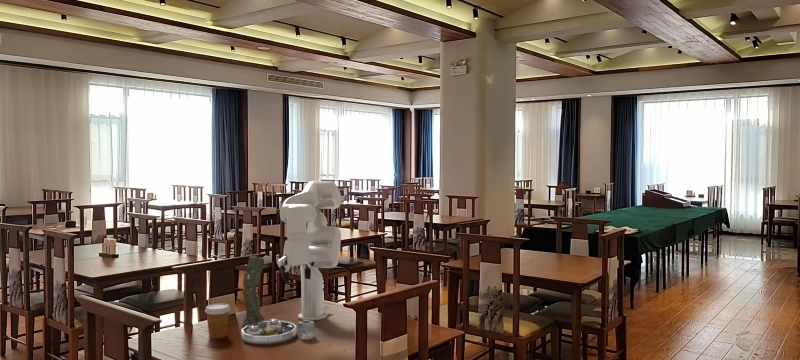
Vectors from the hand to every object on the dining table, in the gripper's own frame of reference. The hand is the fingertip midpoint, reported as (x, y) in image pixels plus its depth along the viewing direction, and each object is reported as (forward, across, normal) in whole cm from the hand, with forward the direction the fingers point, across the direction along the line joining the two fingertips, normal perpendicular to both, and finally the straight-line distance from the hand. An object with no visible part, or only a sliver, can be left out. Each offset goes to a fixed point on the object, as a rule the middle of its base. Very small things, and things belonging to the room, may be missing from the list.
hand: (297, 280), depth 231 cm
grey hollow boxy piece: (+22, -2, +3) cm, 23 cm away
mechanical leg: (+22, +4, -28) cm, 36 cm away
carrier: (+22, +8, -8) cm, 25 cm away
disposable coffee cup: (+23, +23, -22) cm, 39 cm away
